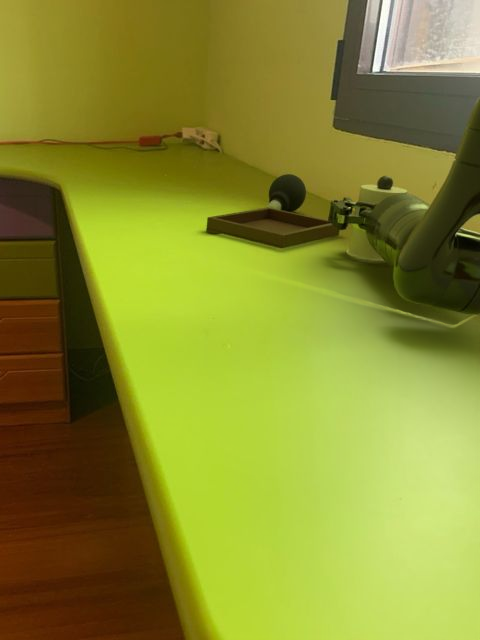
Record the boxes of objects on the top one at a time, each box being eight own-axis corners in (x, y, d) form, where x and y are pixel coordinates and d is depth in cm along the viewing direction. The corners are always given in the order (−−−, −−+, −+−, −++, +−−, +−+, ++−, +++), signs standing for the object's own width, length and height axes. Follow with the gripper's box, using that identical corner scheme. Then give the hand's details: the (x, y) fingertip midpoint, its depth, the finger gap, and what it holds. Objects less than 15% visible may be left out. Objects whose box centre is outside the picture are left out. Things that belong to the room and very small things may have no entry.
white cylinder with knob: (360, 249, 99) (375, 170, 94) (402, 259, 95) (421, 177, 90) (336, 256, 95) (351, 173, 90) (380, 266, 91) (398, 181, 86)
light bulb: (255, 189, 115) (282, 162, 120) (249, 221, 120) (276, 194, 125) (289, 203, 113) (315, 175, 118) (282, 235, 118) (308, 207, 123)
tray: (266, 221, 114) (268, 207, 113) (338, 237, 106) (341, 222, 105) (205, 232, 103) (207, 217, 102) (280, 251, 96) (283, 235, 94)
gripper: (478, 204, 77) (435, 182, 91) (351, 195, 77) (328, 174, 92) (461, 270, 81) (422, 239, 95) (339, 261, 81) (318, 231, 95)
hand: (375, 207), depth 93 cm, fingers open, 8 cm apart
